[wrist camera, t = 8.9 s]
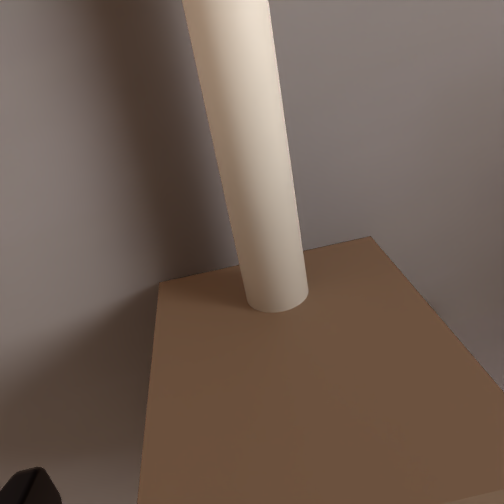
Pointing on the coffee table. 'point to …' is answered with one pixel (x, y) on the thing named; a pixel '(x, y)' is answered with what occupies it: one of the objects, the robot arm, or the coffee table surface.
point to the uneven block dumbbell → (301, 337)
